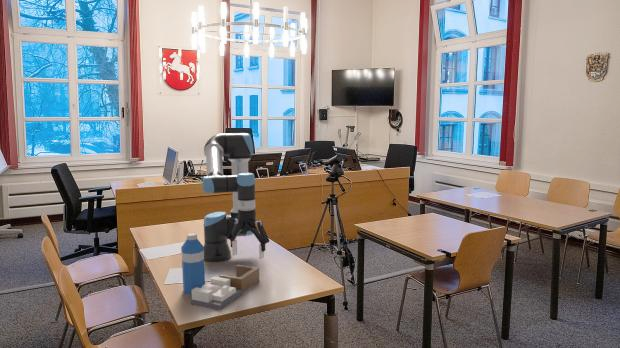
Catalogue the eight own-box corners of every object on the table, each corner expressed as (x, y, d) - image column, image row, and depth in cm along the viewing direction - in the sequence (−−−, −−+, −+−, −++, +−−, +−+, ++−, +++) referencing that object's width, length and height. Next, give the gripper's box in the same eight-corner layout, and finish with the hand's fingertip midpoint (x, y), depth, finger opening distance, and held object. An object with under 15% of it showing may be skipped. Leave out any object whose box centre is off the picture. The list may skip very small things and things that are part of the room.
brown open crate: (219, 288, 200) (219, 275, 199) (238, 276, 214) (238, 264, 213) (242, 292, 196) (241, 279, 195) (259, 280, 209) (259, 267, 209)
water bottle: (185, 286, 203) (182, 231, 199) (206, 285, 204) (204, 231, 200) (181, 295, 194) (178, 237, 190) (203, 294, 195) (201, 237, 191)
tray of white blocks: (191, 312, 186) (190, 289, 184) (214, 296, 200) (213, 276, 199) (220, 318, 180) (219, 295, 179) (242, 302, 195) (241, 280, 193)
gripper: (217, 208, 199) (219, 255, 202) (268, 213, 189) (269, 262, 192) (227, 205, 206) (228, 250, 209) (276, 209, 196) (277, 257, 199)
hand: (248, 256), depth 201 cm, fingers open, 13 cm apart
